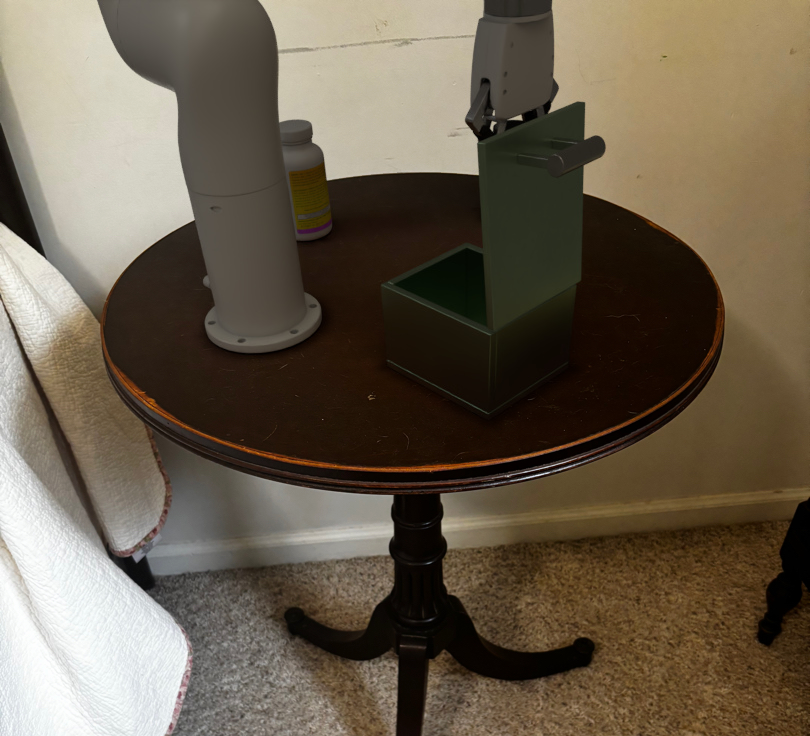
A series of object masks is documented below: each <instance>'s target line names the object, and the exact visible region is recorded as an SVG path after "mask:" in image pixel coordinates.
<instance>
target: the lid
mask: <svg viewBox="0 0 810 736" xmlns="http://www.w3.org/2000/svg"><path fill="white" fill-rule="evenodd" d="M585 131H586V102H585V101H579V100H578V101H575V102H572V103H569V104H568V105H565V106H562V107H561V108H558V109H555V110H554V111H551V112H550V111H549V113H548V114H546V115H543V116H541V117H538V118H536V119H533V120H531V121H529V122H526V123H524V124H521V125H519V126H516V127H514V128H512V129H509V130H507V131H504V132H502V133H499V134H497V135H495V136H492V137H490V138H487V139H485V140H482V141H480V142H478V141H477V142H476V149H477V166H478V169H477V170H478V186H479V201H480V202H479V204H480V220H481V221H480V223H481V237H482V249H483V258H484V276H485V294H486V311H487V328H488V329H490V330H493V331H495V330H497V329H499V328H500V327H502V326H504V325H505V324H507V323H509V322H511V321H512V320H514V319H516V318H517V317H519V316H521V315H523V314H524V313H526V312H528V311H530V310H531V309H533V308H535V307H536V306H538V305H540V304H542V303H543V302H545V301H547V300H548V299H550V298H552V297H554V296H555V295H557V294H559V293H560V292H562V291H564V290H566V289H567V288H569V287H571V286H572V285H574V284H576V285H577V284H578V283H579V282H581V281H582V261H583V260H582V255H583V254H582V253H583V218H584V217H583V216H584V215H583V214H584V213H583V212H584V211H583V210H584V174H585V173H584V172H585V166H586V165H588V164H590V163H592V162H594V161H596V160H598V159H601V158H602V157H603V156H604V155H605V153H606V148H607V147H606V146H607V145H606V141H605V140H604V138H603V137H602V136H601V135H592V136H590V137H588V138H586V139H585V136H586V135H585V133H586V132H585Z"/></svg>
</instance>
